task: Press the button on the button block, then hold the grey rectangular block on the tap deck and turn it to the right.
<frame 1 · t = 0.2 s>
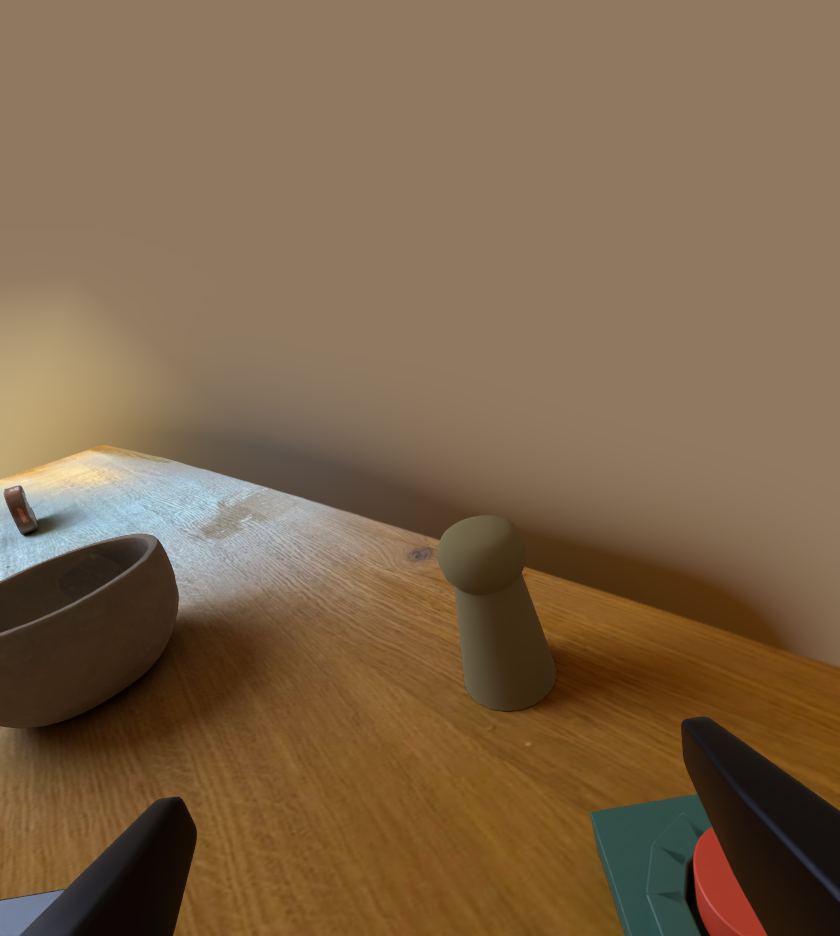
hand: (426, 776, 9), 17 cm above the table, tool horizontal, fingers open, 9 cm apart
tin: (32, 528, 98), on the table
button: (760, 898, 15), point 4 cm above the table, slide at 0.1 cm
brown pawn: (510, 675, 33), on the table
bowl: (103, 677, 44), on the table
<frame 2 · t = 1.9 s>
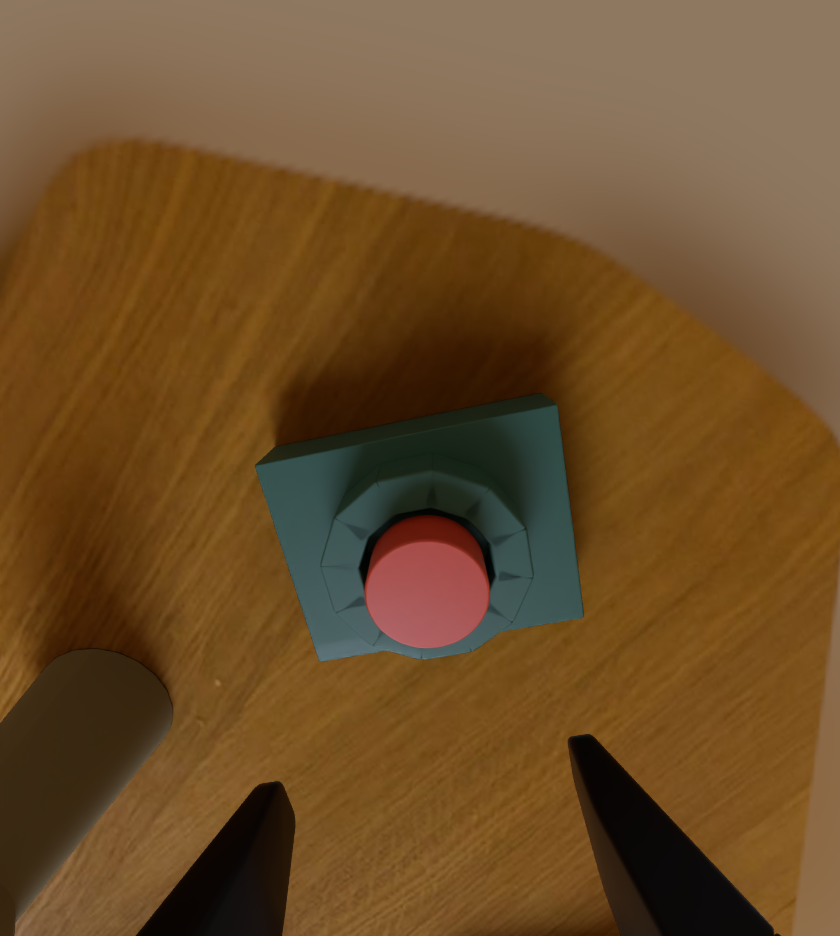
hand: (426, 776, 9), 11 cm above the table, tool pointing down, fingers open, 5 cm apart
button: (427, 580, 15), point 4 cm above the table, slide at 0.1 cm
button block: (427, 519, 19), on the table
brown pawn: (108, 701, 22), on the table
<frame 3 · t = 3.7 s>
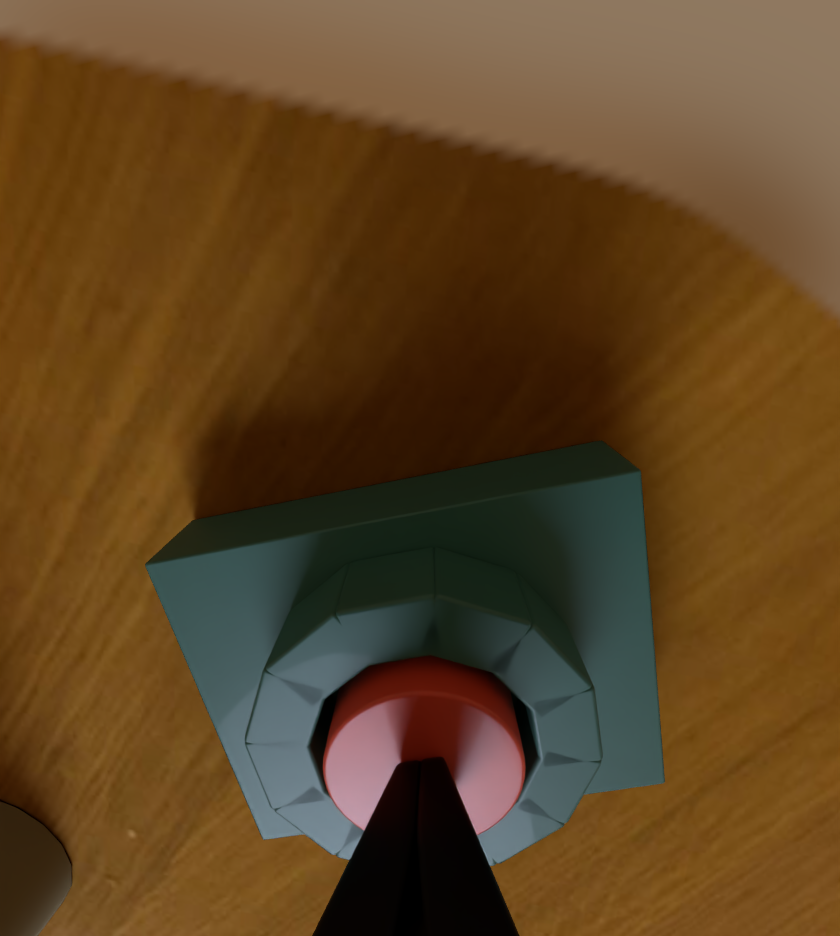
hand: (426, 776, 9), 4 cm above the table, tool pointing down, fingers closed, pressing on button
button: (424, 735, 10), point 4 cm above the table, slide at -0.8 cm, touching gripper
button block: (424, 621, 13), on the table
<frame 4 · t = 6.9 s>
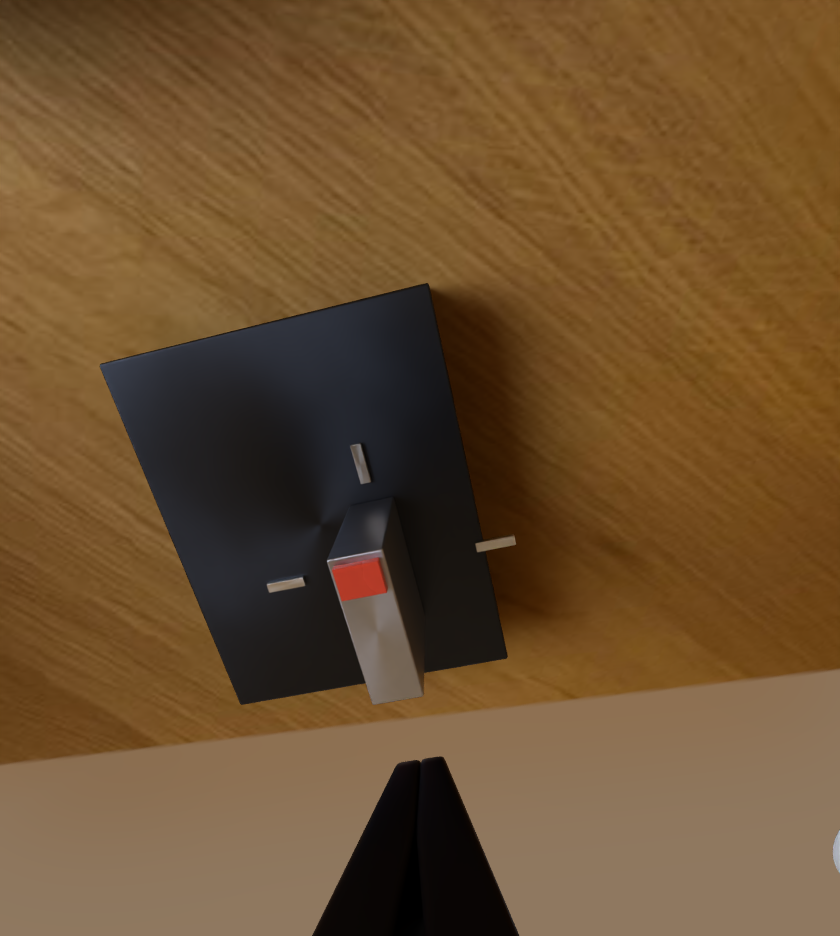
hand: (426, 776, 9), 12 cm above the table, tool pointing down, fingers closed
grey rectangular block: (383, 595, 16), point 5 cm above the table, hinge at 0.0°
tap deck: (336, 494, 20), on the table
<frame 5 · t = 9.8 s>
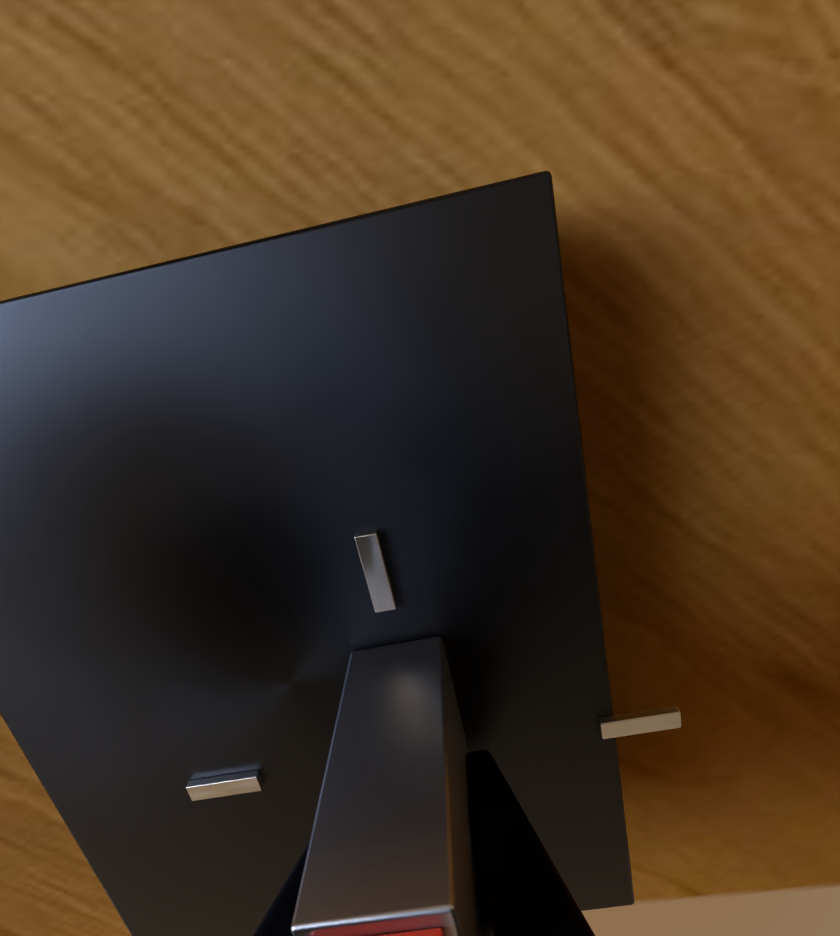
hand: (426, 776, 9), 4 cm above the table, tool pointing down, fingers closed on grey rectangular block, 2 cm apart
grey rectangular block: (425, 879, 7), point 5 cm above the table, hinge at 0.1°, touching gripper
tap deck: (324, 590, 12), on the table
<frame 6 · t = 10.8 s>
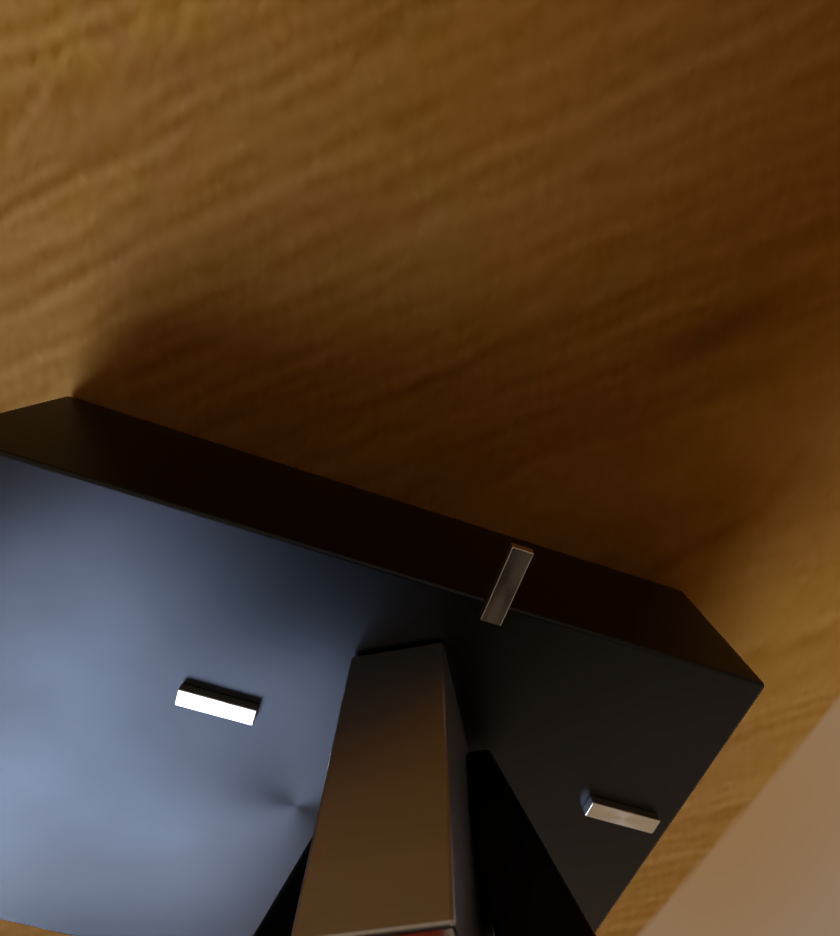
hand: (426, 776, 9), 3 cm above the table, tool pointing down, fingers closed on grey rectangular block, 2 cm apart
grey rectangular block: (426, 889, 7), point 5 cm above the table, hinge at -59.4°, touching gripper
tap deck: (325, 691, 12), on the table
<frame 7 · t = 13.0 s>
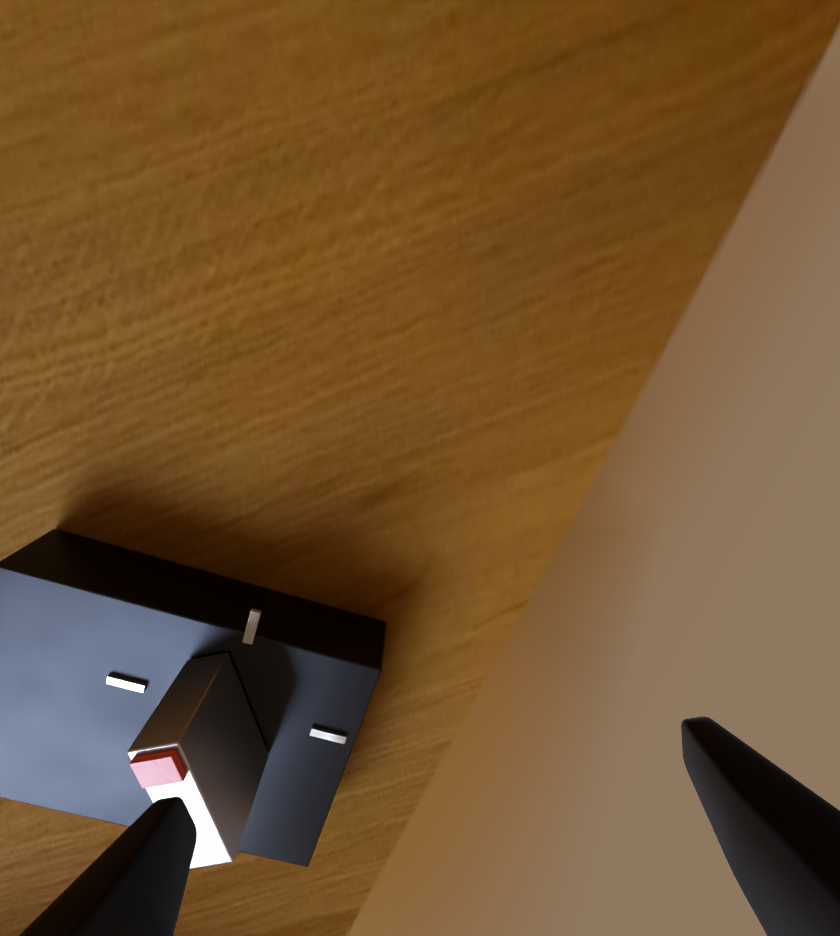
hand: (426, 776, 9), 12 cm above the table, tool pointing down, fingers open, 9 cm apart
grey rectangular block: (207, 756, 17), point 5 cm above the table, hinge at -59.4°
tap deck: (201, 679, 22), on the table
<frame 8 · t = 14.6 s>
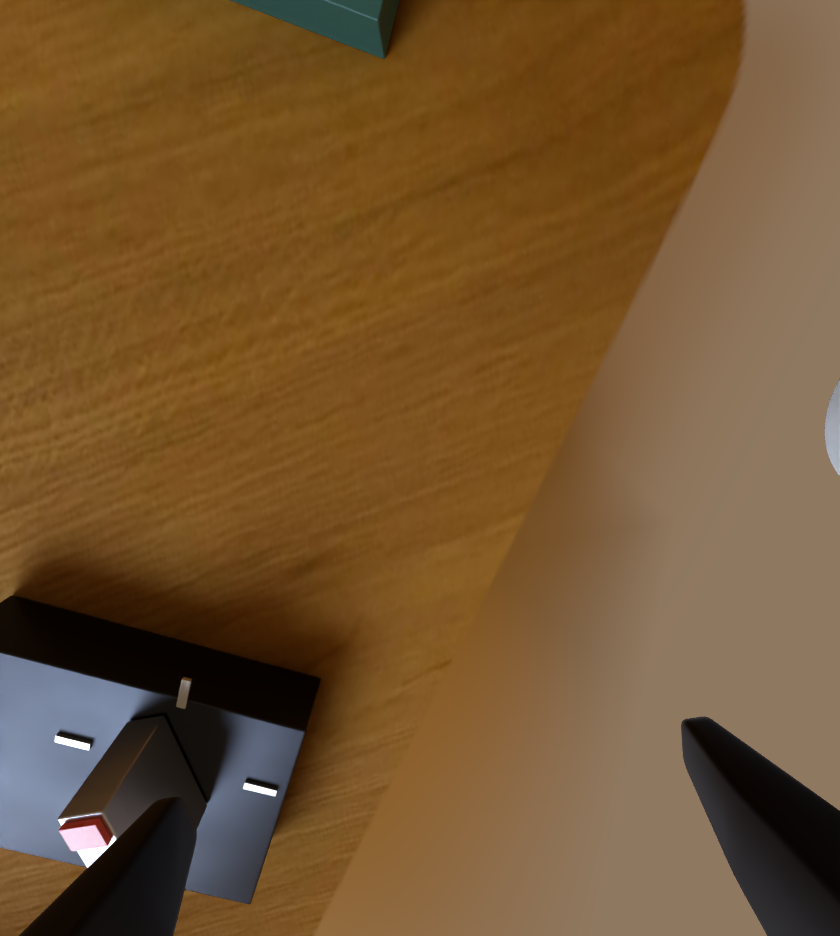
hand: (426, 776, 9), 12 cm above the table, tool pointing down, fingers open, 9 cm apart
grey rectangular block: (140, 814, 19), point 5 cm above the table, hinge at -59.4°
tap deck: (152, 728, 24), on the table
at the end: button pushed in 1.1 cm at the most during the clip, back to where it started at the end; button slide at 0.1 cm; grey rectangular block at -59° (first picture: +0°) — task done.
